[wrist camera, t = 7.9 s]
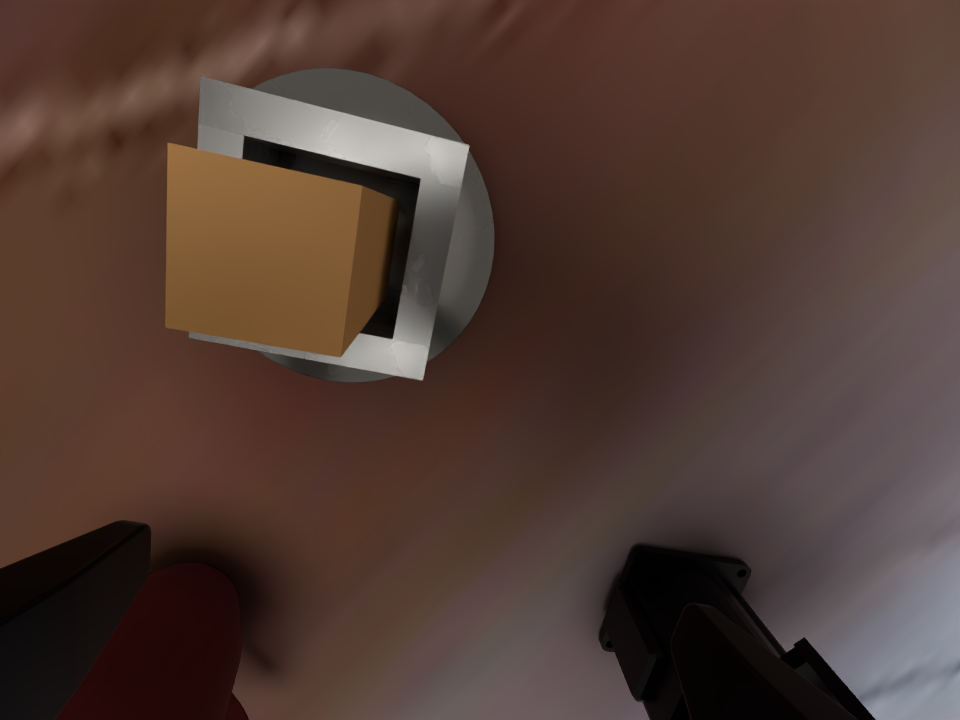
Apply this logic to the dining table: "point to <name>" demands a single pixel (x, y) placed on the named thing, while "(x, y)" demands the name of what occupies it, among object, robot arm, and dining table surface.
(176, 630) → the mug
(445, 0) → the dining table surface
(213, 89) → the silver square frame
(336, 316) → the orange-brown rectangular block
